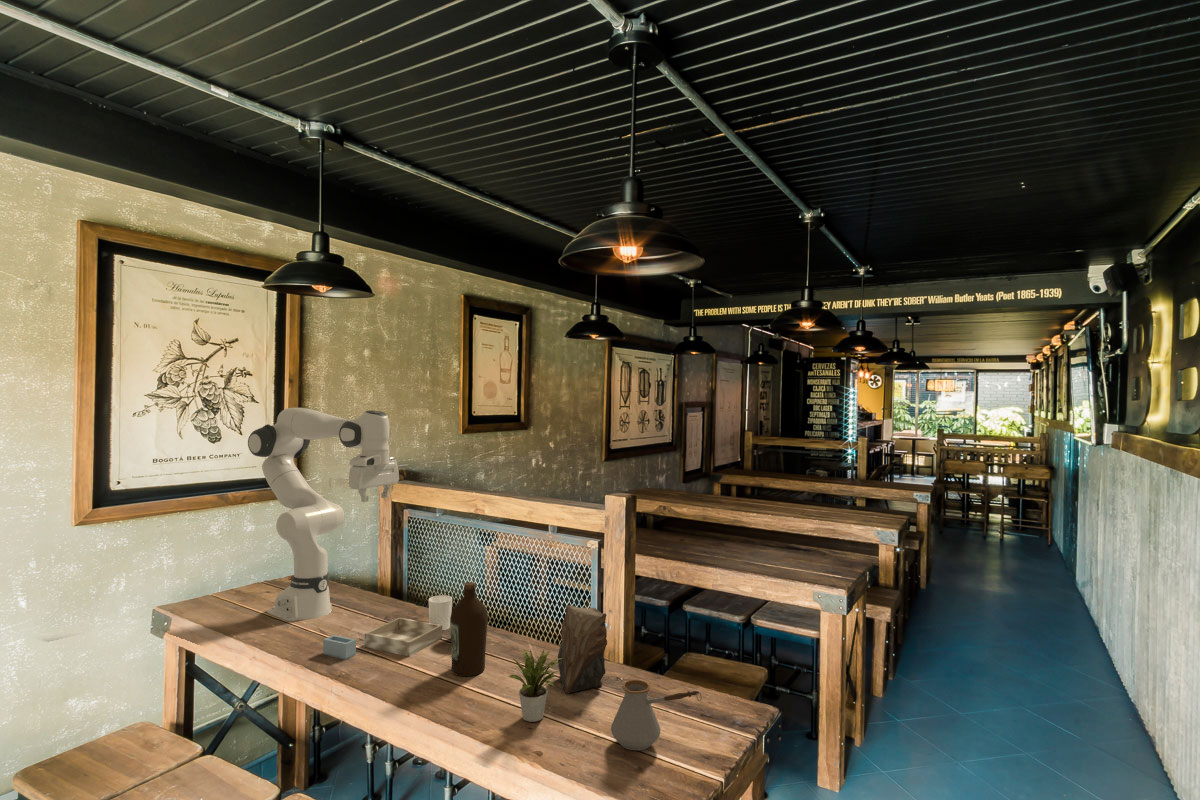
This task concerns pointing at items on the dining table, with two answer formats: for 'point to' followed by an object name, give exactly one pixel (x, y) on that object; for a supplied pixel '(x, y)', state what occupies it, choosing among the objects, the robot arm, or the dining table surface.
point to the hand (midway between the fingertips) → (374, 499)
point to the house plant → (534, 686)
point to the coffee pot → (639, 716)
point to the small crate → (339, 647)
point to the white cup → (440, 610)
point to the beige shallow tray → (403, 636)
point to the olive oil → (468, 634)
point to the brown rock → (582, 649)
